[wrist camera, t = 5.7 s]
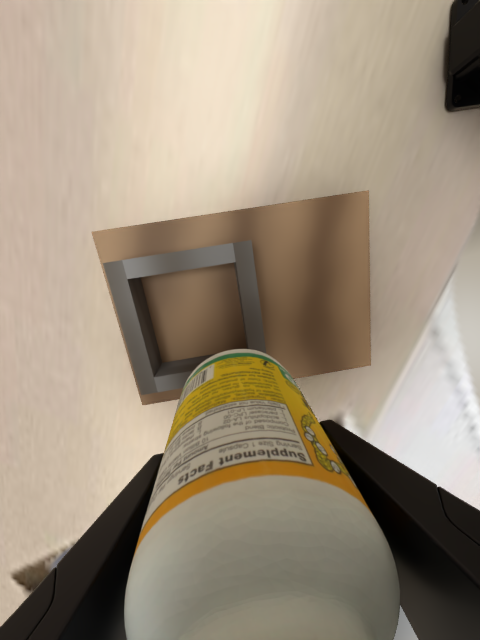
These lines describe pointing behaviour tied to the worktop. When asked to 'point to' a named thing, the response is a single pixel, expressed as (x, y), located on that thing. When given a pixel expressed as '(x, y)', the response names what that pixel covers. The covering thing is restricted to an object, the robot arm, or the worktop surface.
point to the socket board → (242, 289)
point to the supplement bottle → (256, 522)
